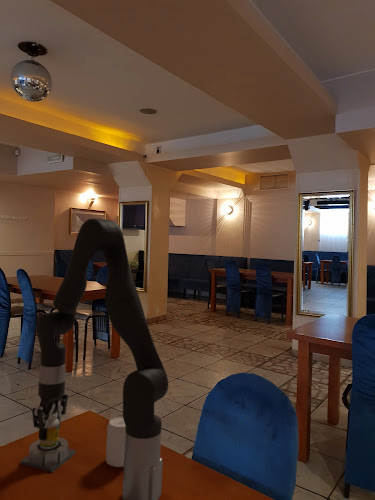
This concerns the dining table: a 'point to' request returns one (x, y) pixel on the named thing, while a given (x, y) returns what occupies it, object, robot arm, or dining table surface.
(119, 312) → the robot arm
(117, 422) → the beverage can
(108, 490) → the dining table surface
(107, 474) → the dining table surface
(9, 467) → the dining table surface
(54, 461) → the rosette collar
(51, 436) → the supplement bottle
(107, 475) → the dining table surface
